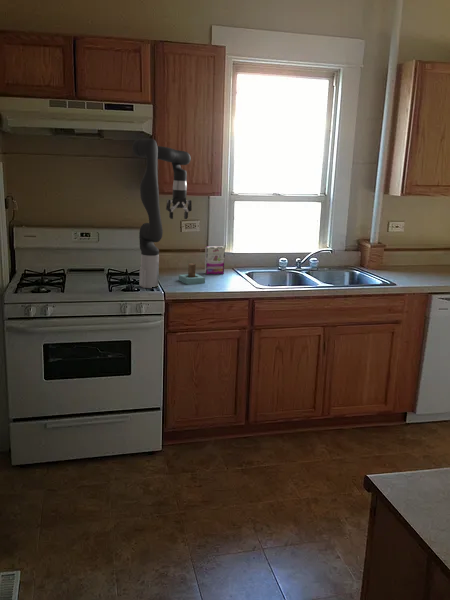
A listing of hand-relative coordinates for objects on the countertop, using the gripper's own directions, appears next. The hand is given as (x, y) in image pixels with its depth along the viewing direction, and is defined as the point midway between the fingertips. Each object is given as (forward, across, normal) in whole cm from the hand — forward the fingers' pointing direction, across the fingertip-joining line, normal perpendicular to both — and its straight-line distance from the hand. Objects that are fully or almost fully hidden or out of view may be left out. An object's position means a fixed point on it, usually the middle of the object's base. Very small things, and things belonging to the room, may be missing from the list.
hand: (178, 218), depth 313 cm
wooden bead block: (+34, +5, -9) cm, 35 cm away
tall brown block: (+34, +5, -9) cm, 35 cm away
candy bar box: (+34, +28, +8) cm, 45 cm away
